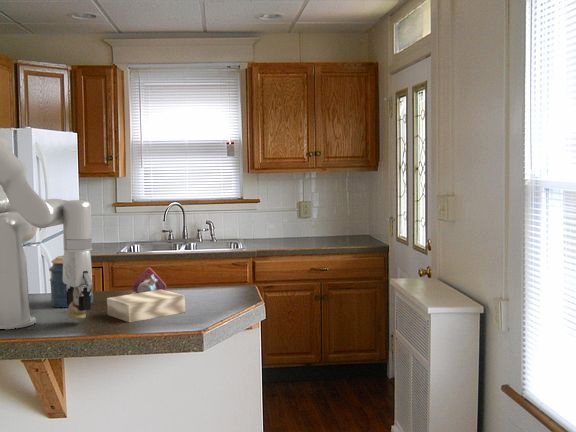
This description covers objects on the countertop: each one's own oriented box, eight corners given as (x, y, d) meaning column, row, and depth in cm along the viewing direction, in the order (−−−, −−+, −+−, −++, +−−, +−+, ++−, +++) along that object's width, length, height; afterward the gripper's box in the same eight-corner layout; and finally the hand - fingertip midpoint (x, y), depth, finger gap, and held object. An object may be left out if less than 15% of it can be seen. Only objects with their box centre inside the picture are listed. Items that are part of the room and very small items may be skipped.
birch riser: (129, 322, 203) (128, 304, 203) (107, 314, 214) (106, 298, 214) (185, 312, 214) (184, 295, 214) (162, 305, 225) (161, 289, 225)
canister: (67, 310, 223) (64, 252, 222) (42, 305, 231) (39, 250, 230) (102, 302, 233) (99, 247, 232) (76, 298, 241) (73, 245, 240)
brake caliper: (173, 290, 237) (164, 264, 229) (165, 316, 229) (155, 291, 221) (140, 290, 239) (130, 265, 231) (131, 316, 231) (120, 291, 223)
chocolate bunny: (65, 320, 199) (64, 283, 198) (68, 313, 207) (68, 278, 206) (85, 319, 200) (85, 283, 199) (88, 313, 208) (88, 278, 207)
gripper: (52, 242, 206) (53, 303, 207) (77, 249, 192) (78, 314, 194) (78, 240, 211) (79, 300, 212) (103, 247, 197) (104, 311, 198)
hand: (78, 307), depth 203 cm, fingers closed on chocolate bunny, 7 cm apart
